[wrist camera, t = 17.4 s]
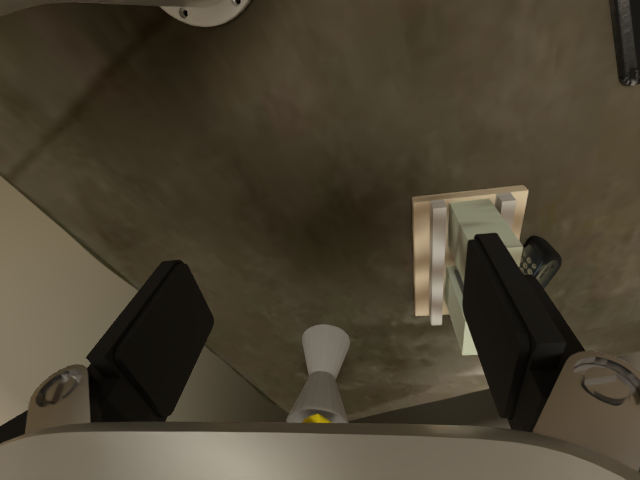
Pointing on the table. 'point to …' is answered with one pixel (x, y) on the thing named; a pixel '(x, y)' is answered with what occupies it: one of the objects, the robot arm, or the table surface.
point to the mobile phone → (540, 260)
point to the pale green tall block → (458, 310)
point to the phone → (627, 39)
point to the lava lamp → (321, 377)
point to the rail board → (449, 258)
